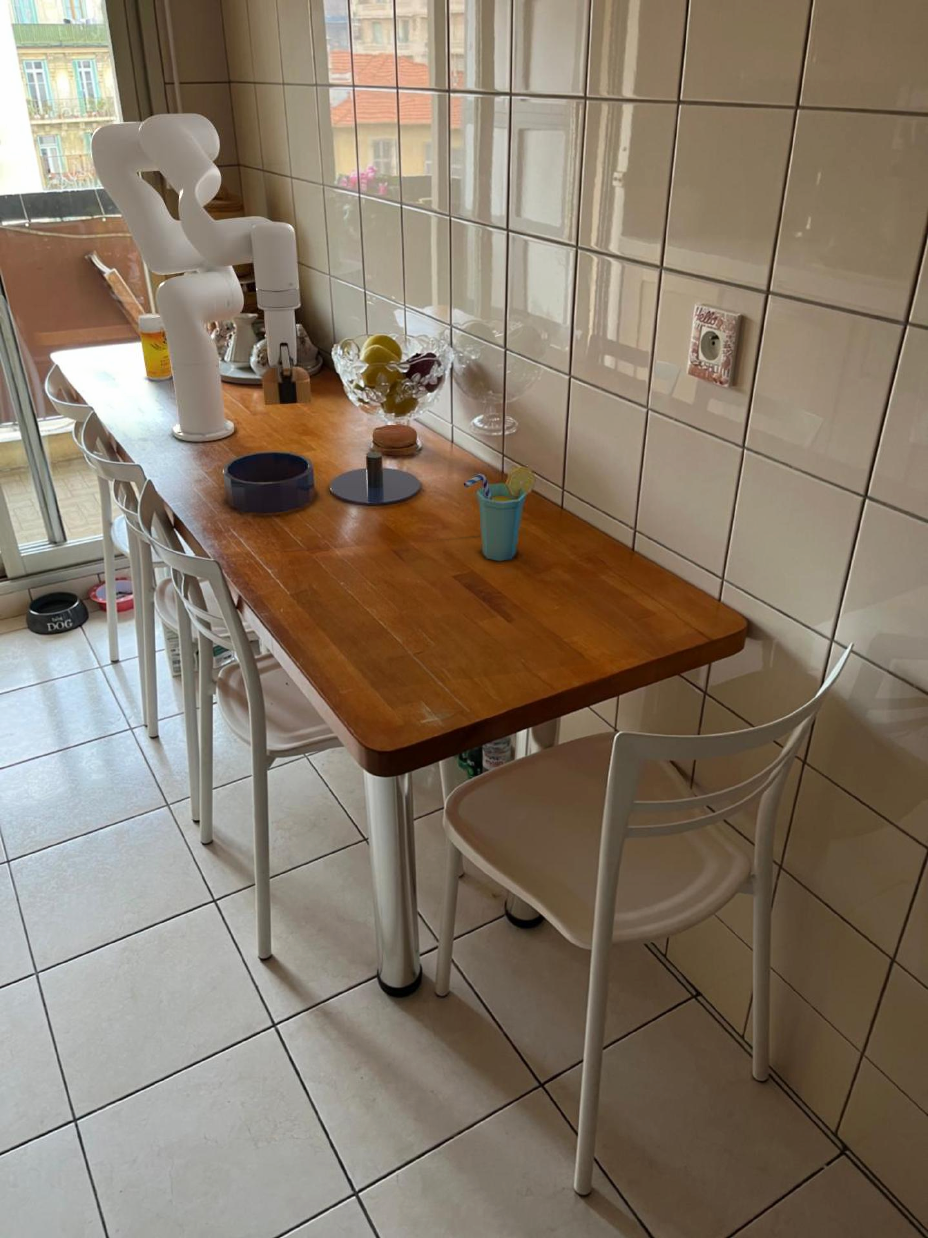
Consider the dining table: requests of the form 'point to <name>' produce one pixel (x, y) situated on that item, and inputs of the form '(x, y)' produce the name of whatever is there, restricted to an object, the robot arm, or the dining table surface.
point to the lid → (374, 484)
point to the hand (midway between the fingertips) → (287, 397)
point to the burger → (395, 440)
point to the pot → (269, 496)
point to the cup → (502, 512)
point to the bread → (271, 386)
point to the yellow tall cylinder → (154, 346)
